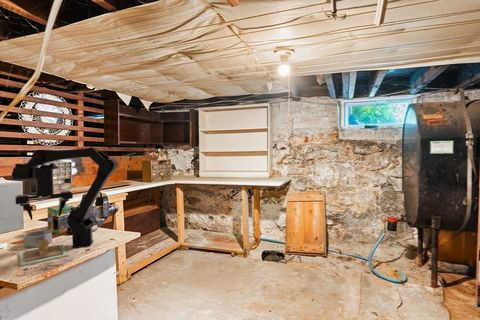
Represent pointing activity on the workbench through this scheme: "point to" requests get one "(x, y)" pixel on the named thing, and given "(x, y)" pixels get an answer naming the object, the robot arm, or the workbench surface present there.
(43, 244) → the cover
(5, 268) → the workbench surface
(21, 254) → the mat
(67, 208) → the green lantern
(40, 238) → the bowl
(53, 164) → the robot arm
